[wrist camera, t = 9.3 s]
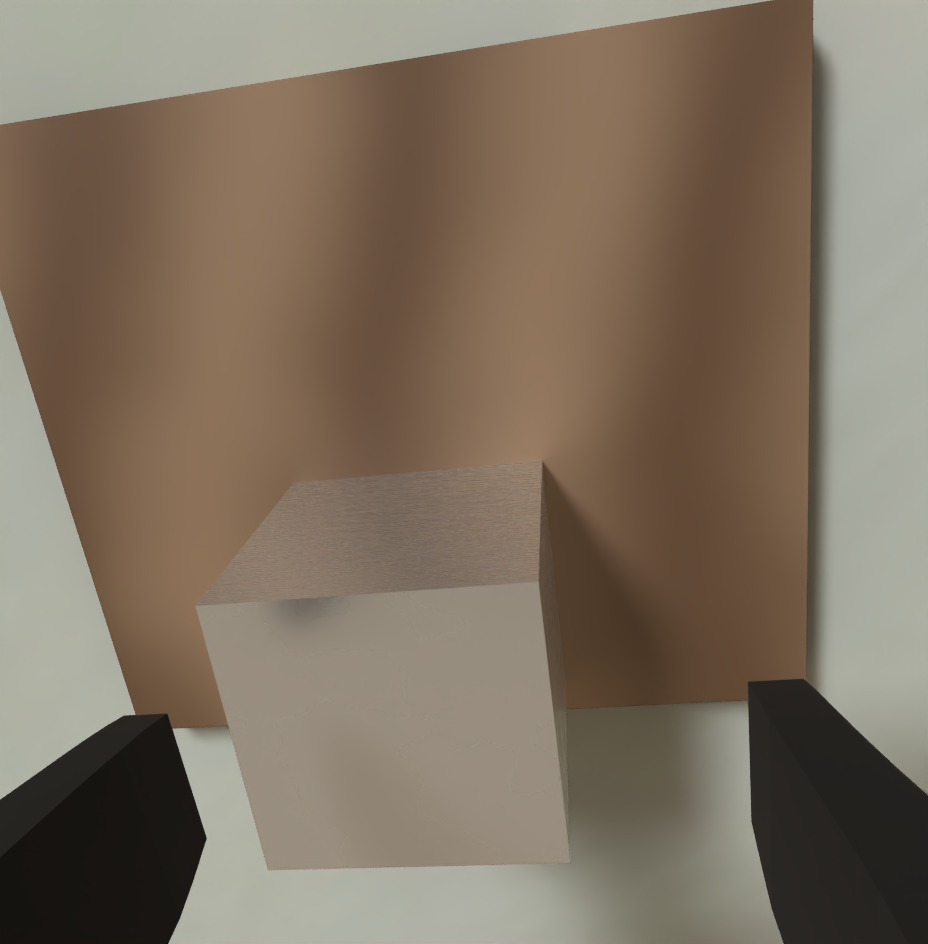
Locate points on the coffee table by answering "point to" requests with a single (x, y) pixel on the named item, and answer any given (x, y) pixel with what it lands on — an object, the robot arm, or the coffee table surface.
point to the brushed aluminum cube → (398, 672)
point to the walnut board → (445, 330)
